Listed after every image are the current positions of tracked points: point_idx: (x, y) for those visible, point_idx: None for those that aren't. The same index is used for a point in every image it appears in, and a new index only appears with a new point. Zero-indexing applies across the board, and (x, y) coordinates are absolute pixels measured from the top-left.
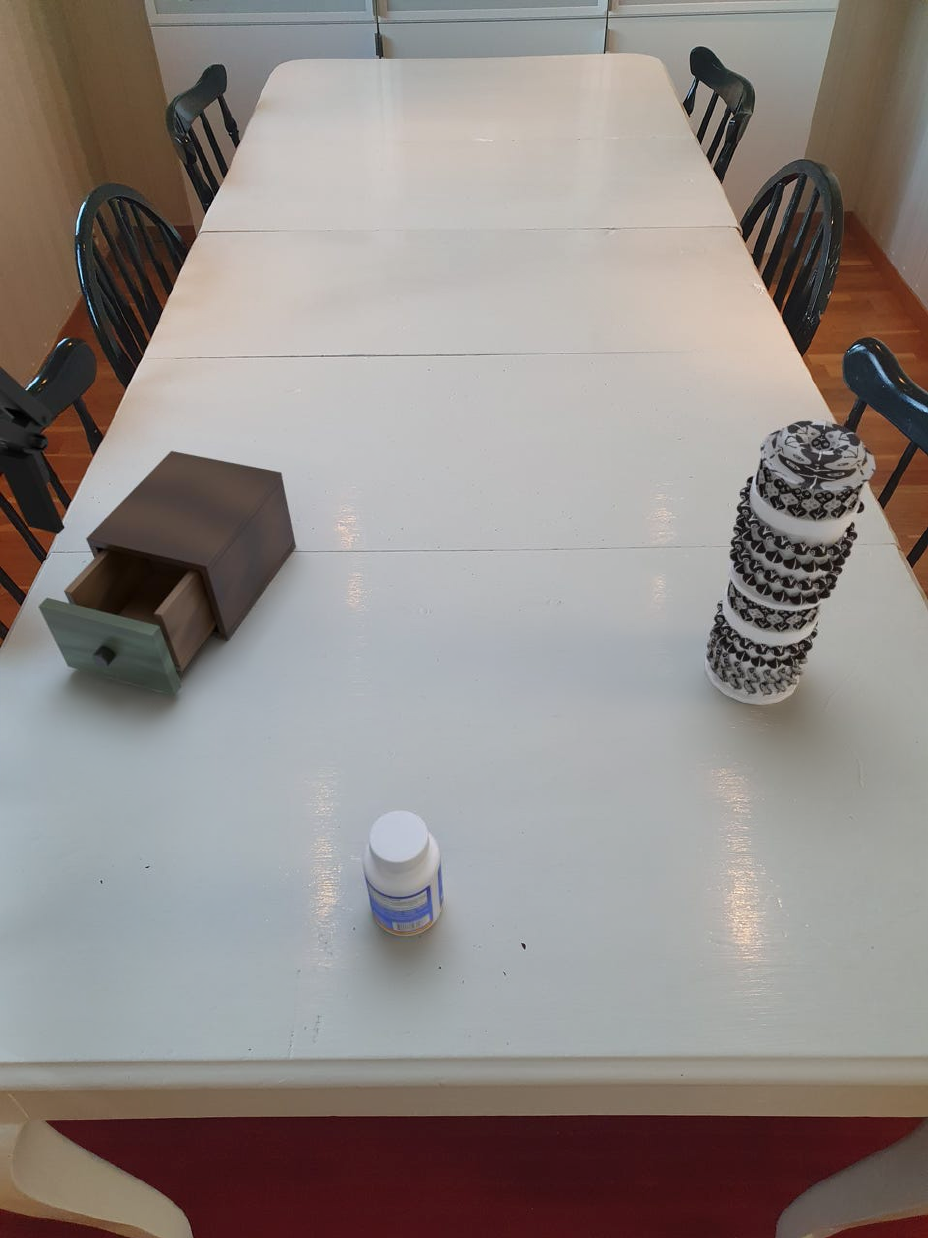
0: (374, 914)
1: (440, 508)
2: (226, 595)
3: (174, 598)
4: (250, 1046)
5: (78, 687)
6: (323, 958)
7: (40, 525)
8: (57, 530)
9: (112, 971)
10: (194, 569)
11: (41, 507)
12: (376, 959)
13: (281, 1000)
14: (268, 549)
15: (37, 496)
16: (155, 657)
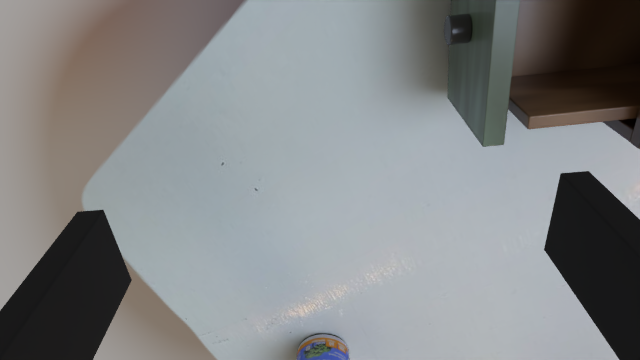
0: (300, 351)
1: None
2: None
3: (567, 124)
4: (187, 318)
5: None
6: (261, 326)
7: (559, 222)
8: (550, 256)
9: (168, 220)
10: (636, 120)
11: (588, 291)
12: (278, 349)
13: (222, 319)
14: None
15: (608, 327)
16: (468, 118)
